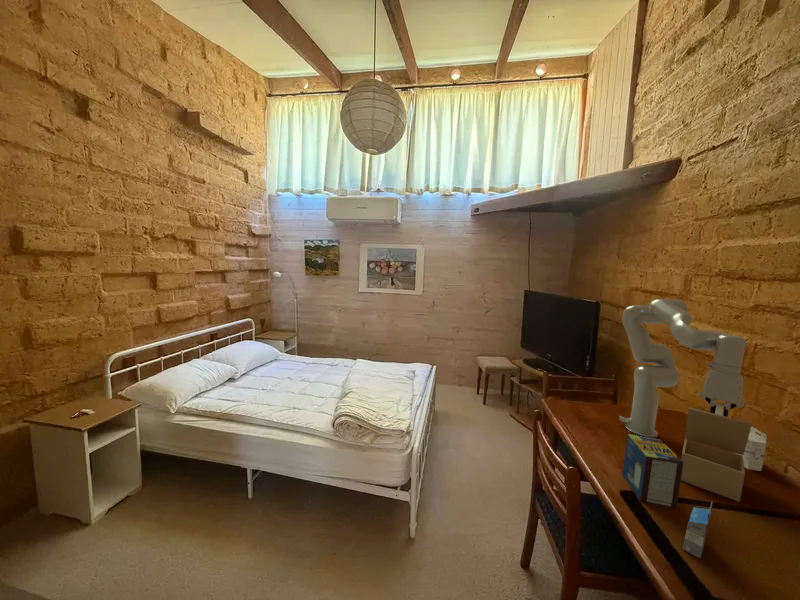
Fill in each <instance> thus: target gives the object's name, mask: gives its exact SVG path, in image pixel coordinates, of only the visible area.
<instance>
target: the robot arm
mask: <svg viewBox="0 0 800 600" xmlns="http://www.w3.org/2000/svg"><path fill="white" fill-rule="evenodd" d="M621 317H622V318H621V321H622V326H623V328H624V330H625V332H626V334H627V338H628V342H629V345H630V349H631V353H632V357H633V359H634V361H636V362H637V363H643V364H645V365H640V366H637V367H636V368H635V369H634V372H633V378H634V379H633V381H634V386H633V387H634V389H633V396H632V397H633V398H632V404H631V413H630V417H624V416H621V415H619V417H618V420H619V421H620V422H621V423H625V425H624V426H625V427H626V428H627V429H628V430H629V431H628V430H627V429H626V428H625V429H626V430H627V431H628V432H630V431H631V432H630V433H632V432H633V433H632V434H634V433H636V434H635V435H637V434H638V435H637V436H639V435H641V436H642V437H643V436H644V437H649V438H655V439H656V438H657V437H658V436H659V433H658V431H657V430H655V428H656V421H657V415H658V407H659V401H660V400H659V399H660V396H659V392H658V391H657V388H672V387H675V386H677V385H678V384H679V383H678V382H679V378H680V377H679V373H678V369H677V366H676V362H675V360H674V356H673V354H672V351H671V349H670V348H669V347H668V346H667V345H665V344H663V343H657V342H656V343H654V342H652V340H651V337H650V333H649V331H648V330H647V329H646V328H645V327H644V325H642V324H653V325H654V324H655V325H656V324H657V325H658V324H665V325H667V326H668V327H669V328H670V332H671V335H672V337H673V338H674V339H675V340H676V341H678V342H679V343H681V344H682V345H684V346H685V347H686V348H688V349H691V350H695V351H696V350H698V351H713V352H714V353H713V361H712V362H707V364H706V367H709V368H711V369H709V370H708V371H707V374H706V377H705V381H704V386H703V389H702V390H701V391H700V392H699V393H698V396H699V397H700V398H701V399H703V400H705V401H706V403H708V404H709V405H710V409H709V412H710V413H714V414H715V410H716V401H721V402H725V405H724V411H723V416H726V417H728V415H729V411H730V410H732V409H736V408H742V407H743V408H744V407H745V406H746V405H745V403H744V402H745V401H744V400H743V391H744V377H743V375H742V374H741V372H742V367H743V366H742V365H743V361H744V354H745V349H746V345H747V343H746V339H745V338H744V337H742V336H739V335H733V334H727V333H724V332H722V331H718V330H706V329H705V330H703V329H695V328H693V327H691V326H690V325H691V323H692V320H693V319H692V315H691V313H689V308H688V305H687V303H685V302H684V301H682V300H680V299H671V298H657V299H654V300H652V301H651V302H650V303H649V305H643V304H636V305H635V304H634V305H630V306H629V305H628V306H627V307H626V308H625V309H624V310H623V312H622V316H621ZM647 364H648V365H647ZM649 364H650V365H649ZM652 364H655V365H652Z"/></svg>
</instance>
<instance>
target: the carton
mask: <svg viewBox="0 0 800 600" xmlns="http://www.w3.org/2000/svg"><path fill="white" fill-rule="evenodd" d="M680 459H681V460H682V461H683V462H684V464H683V470H682V477H681V481H682V482H685V483H688V484H691V485H693V486H695V487H698V488H701V489H704V490H706V491H709V492H712V493H714V494H717V495H720V496H722V497H725V498H727V499H731V500H734V501H737V502H739V503H740V502H741V497H742V491H743V486H744V482H745V481H744V480H745V475H746V471H745V467H744V463H743V456H742V455H738V454H735V453H733V452H730V451H727V450H724V449H720V448H717V447H714V446H710V445H707V444H704V443H700V442H697V441H694V440H691V439H687V438H685V437H684V443H683V447H682V452H681V458H680Z"/></svg>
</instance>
